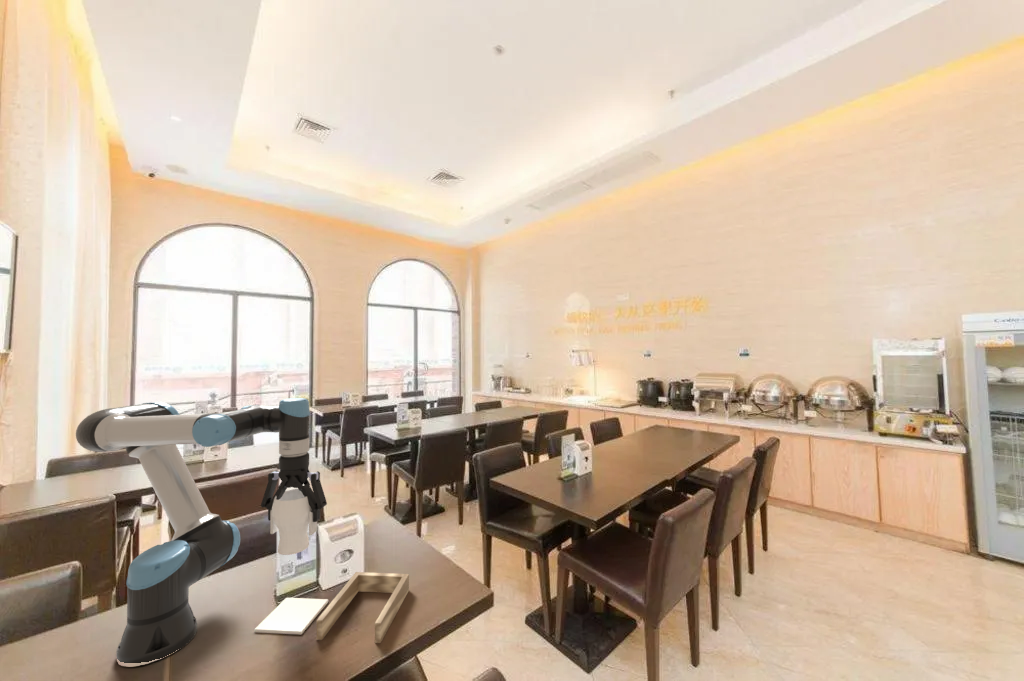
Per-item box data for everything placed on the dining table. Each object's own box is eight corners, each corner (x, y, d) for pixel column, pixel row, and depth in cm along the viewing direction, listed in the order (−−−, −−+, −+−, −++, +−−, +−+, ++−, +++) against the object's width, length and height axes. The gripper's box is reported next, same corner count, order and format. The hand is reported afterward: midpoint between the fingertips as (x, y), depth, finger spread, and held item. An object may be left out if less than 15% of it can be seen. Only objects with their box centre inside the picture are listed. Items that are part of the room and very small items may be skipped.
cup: (262, 556, 105) (262, 500, 105) (291, 537, 116) (292, 486, 116) (296, 560, 103) (296, 503, 103) (323, 540, 113) (323, 488, 114)
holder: (316, 639, 100) (316, 620, 100) (355, 588, 122) (355, 572, 122) (380, 643, 99) (380, 623, 99) (408, 590, 120) (408, 574, 120)
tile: (254, 632, 103) (254, 629, 103) (286, 600, 116) (286, 597, 116) (301, 634, 102) (301, 631, 102) (328, 602, 115) (328, 599, 115)
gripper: (245, 456, 107) (245, 537, 106) (326, 458, 105) (325, 540, 105) (264, 449, 114) (264, 524, 114) (340, 450, 113) (340, 527, 112)
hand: (293, 532), depth 109 cm, fingers closed on cup, 10 cm apart
